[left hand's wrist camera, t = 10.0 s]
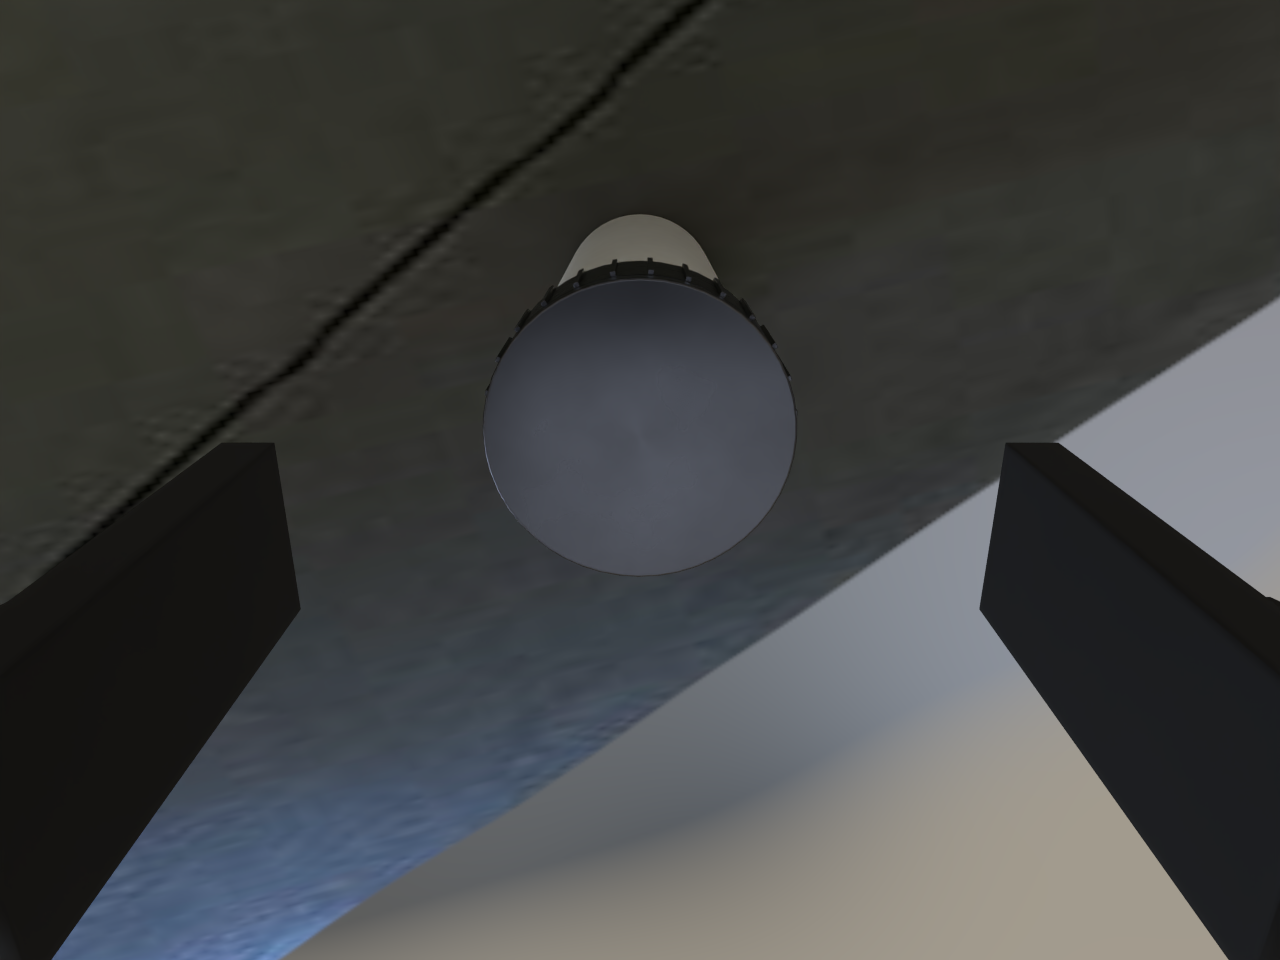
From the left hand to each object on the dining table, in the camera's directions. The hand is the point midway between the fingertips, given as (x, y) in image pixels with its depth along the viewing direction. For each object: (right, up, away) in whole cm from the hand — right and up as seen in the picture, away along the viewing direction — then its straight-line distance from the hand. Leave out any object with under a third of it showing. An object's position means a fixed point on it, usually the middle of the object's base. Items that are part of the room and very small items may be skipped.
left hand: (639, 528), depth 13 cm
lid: (0, +2, +4) cm, 5 cm away
